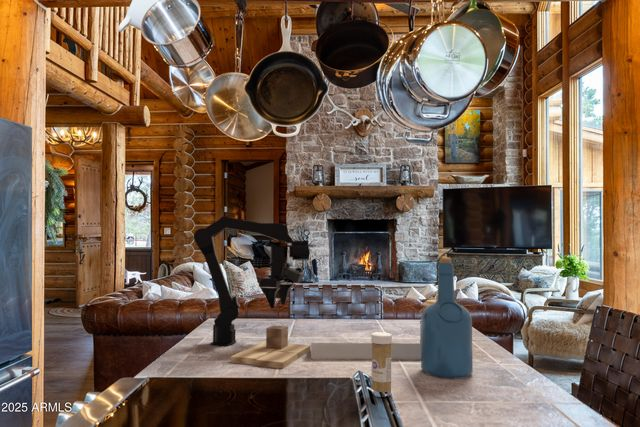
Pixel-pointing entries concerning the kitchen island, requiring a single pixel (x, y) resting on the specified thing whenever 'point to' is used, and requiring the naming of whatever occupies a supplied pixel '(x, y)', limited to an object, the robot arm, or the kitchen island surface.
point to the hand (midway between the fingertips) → (278, 306)
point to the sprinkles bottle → (381, 361)
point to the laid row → (283, 356)
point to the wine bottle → (446, 331)
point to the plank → (251, 354)
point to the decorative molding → (363, 351)
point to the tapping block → (277, 337)
